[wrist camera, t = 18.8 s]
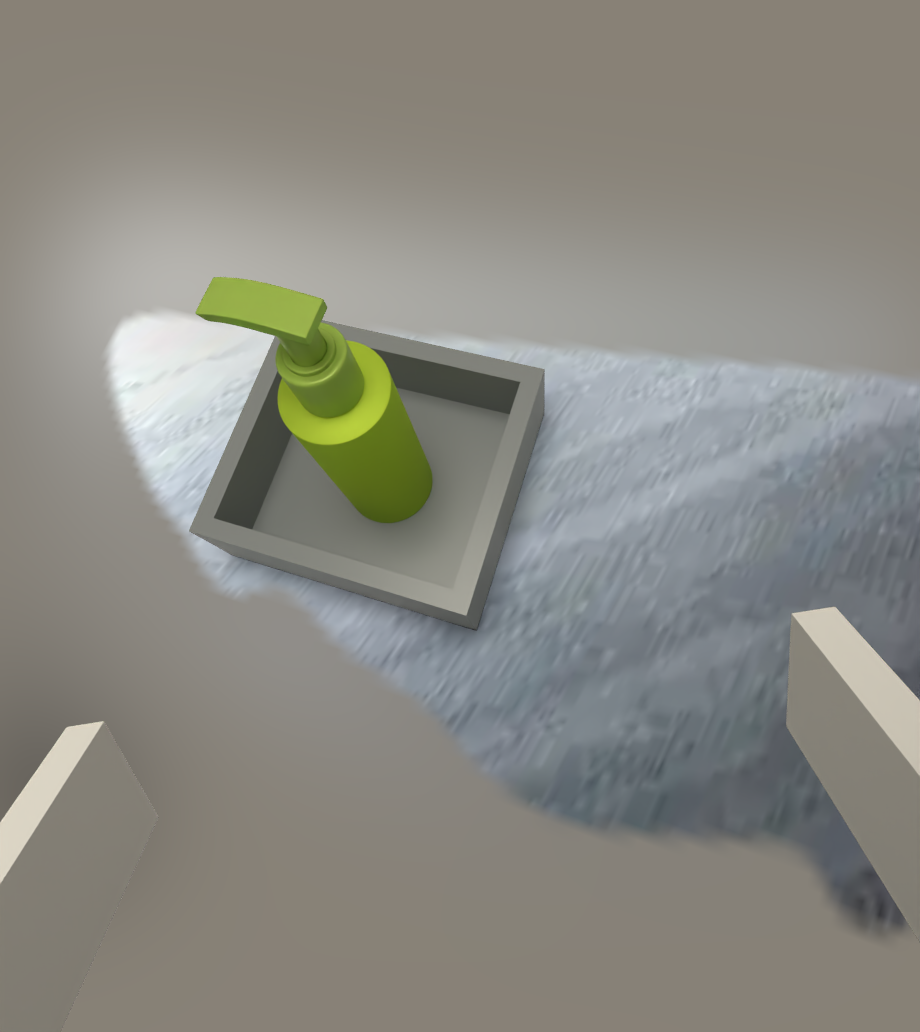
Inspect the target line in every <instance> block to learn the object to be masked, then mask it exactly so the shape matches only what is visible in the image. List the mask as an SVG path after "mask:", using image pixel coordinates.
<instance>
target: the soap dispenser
mask: <svg viewBox="0 0 920 1032" xmlns="http://www.w3.org/2000/svg"><path fill="white" fill-rule="evenodd" d="M326 309H327V306H326V304H325V302H324V300H323V299H321V298H317V297H314V296H311V295H307V294H304V293H300V292H297V291H293V290H290V289H286V288H283V287H279V286H275V285H271V284H267V283H262V282H258V281H252V280H247V279H239V278H226V277H214V278H213V279H212V281H211V283H210V285H209V287H208V289H207V291H206V292H205V295H204V297H203V298H202V300H201V302H200V305H199V306H198V308H197V310H196V314H197V315H199V316H200V317H202V318H204V319H205V320H207V321H213V322H221V323H227V324H232V325H237V326H241V327H245V328H249V329H252V330H256V331H260V332H263V333H267V334H271V335H274V336H276V337H277V338H278V340H279V341H280V344H279V346H278V348H277V351H276V357H275V362H276V367H277V370H278V372H279V374H280V376H281V377H282V380H281V382H280V385H279V389H278V408H279V412H280V415H281V418H282V420H283V422H284V423H285V425H286V426H287V428H288V429H289V430H290V431H291V432H292V434H293V435H294V436H295V437H296V438H297V439H298V441H299V442H300V443H301V444H302V445H303V447H304V448H305V449H306V450H307V451H308V452H309V454H310V455H311V456H312V457H313V458H314V459H315V461H316V462H317V463H318V464H319V465H320V467H321V468H322V469H323V470H324V471H325V472H326V474H327V475H328V476H329V477H330V478H331V480H332V481H333V482H334V483H335V484H336V485H337V487H338V488H339V489H340V490H341V491H342V493H343V494H344V495H345V496H346V497H347V498H348V500H349V501H350V502H351V503H352V504H353V506H354V507H355V508H356V509H357V510H358V511H359V512H360V513H361V514H362V515H363V516H365V517H366V518H368V519H370V520H373V521H376V522H380V523H394V522H399V521H402V520H405V519H407V518H409V517H411V516H412V515H414V514H415V513H416V512H418V511H419V510H420V509H421V508H422V506H423V505H424V504H425V502H426V501H427V499H428V497H429V495H430V492H431V488H432V471H431V468H430V465H429V463H428V461H427V458H426V456H425V454H424V451H423V449H422V447H421V444H420V442H419V440H418V437H417V435H416V433H415V430H414V428H413V426H412V423H411V421H410V419H409V416H408V414H407V412H406V409H405V407H404V405H403V402H402V400H401V398H400V395H399V393H398V391H397V388H396V386H395V384H394V381H393V379H392V377H391V375H390V372H389V370H388V368H387V366H386V364H385V362H384V361H383V359H382V358H381V357H380V356H379V355H378V354H377V353H376V352H375V351H374V350H372V349H371V348H369V347H367V346H365V345H363V344H361V343H358V342H354V341H347V340H345V338H344V336H343V335H342V334H341V333H340V331H339V330H337V329H336V328H335V327H333V326H331V325H329V324H326V323H321V321H322V318H323V316H324V314H325V312H326Z"/></svg>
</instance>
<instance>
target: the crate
mask: <svg viewBox="0 0 920 1032" xmlns="http://www.w3.org/2000/svg"><path fill="white" fill-rule="evenodd" d="M321 323H326V324H329V325H331V326H333V327H335V328H336V329H337V330H339V331H340V333H341V334H342V335H343V336H344V338H345V340H347V341H354V342H358V343H361V344H363V345H365V346H367V347H369V348H371V349H372V350H374V351H375V352H376V353H377V354H378V355H379V356H380V357H381V358H382V359H383V361H384V362H385V364H386V366H387V368H388V370H389V372H390V375H391V377H392V379H393V381H394V384H395V386H396V388H397V391H398V393H399V395H400V398H401V400H402V402H403V405H404V407H405V409H406V412H407V414H408V416H409V419H410V421H411V423H412V426H413V428H414V430H415V433H416V435H417V437H418V440H419V442H420V444H421V447H422V449H423V451H424V454H425V456H426V458H427V461H428V463H429V465H430V468H431V471H432V488H431V492H430V495H429V497H428V499H427V501H426V502H425V504H424V505H423V506H422V508H421V509H420V510H419V511H418V512H416V513H415V514H414V515H412V516H411V517H409V518H407V519H405V520H402V521H399V522H394V523H380V522H376V521H373V520H370V519H368V518H366V517H365V516H363V515H362V514H361V513H360V512H359V511H358V510H357V509H356V508H355V507H354V506H353V504H352V503H351V502H350V501H349V500H348V498H347V497H346V496H345V495H344V494H343V493H342V491H341V490H340V489H339V488H338V487H337V485H336V484H335V483H334V482H333V481H332V480H331V478H330V477H329V476H328V475H327V474H326V472H325V471H324V470H323V469H322V468H321V467H320V465H319V464H318V463H317V462H316V461H315V459H314V458H313V457H312V456H311V455H310V454H309V452H308V451H307V450H306V449H305V448H304V447H303V445H302V444H301V443H300V442H299V441H298V439H297V438H296V437H295V436H294V435H293V434H292V432H291V431H290V430H289V429H288V428H287V426H286V425H285V423H284V422H283V420H282V418H281V415H280V412H279V408H278V389H279V385H280V382H281V380H282V377H281V376H280V374H279V372H278V370H277V367H276V362H275V357H276V351H277V348H278V346H279V344H280V341H279V340H278V338H277V337H276V336H275V338H274V340H273V342H272V344H271V347H270V349H269V351H268V353H267V356H266V358H265V360H264V362H263V365H262V367H261V369H260V372H259V374H258V376H257V378H256V381H255V383H254V385H253V387H252V390H251V392H250V394H249V396H248V399H247V401H246V403H245V405H244V408H243V410H242V412H241V414H240V417H239V419H238V421H237V423H236V426H235V428H234V430H233V432H232V435H231V437H230V439H229V442H228V444H227V446H226V448H225V451H224V453H223V455H222V457H221V460H220V462H219V464H218V466H217V469H216V471H215V473H214V475H213V478H212V480H211V482H210V484H209V487H208V489H207V491H206V493H205V496H204V498H203V500H202V503H201V505H200V507H199V509H198V512H197V514H196V516H195V518H194V521H193V523H192V525H191V527H190V530H189V531H190V532H191V533H193V534H195V535H197V536H199V537H200V538H202V539H204V540H206V541H208V542H209V543H211V544H213V545H215V546H217V547H218V548H220V549H222V550H224V551H226V552H227V553H229V554H231V555H233V556H237V557H240V558H243V559H246V560H249V561H253V562H256V563H259V564H262V565H266V566H269V567H272V568H275V569H279V570H282V571H285V572H288V573H292V574H295V575H298V576H301V577H305V578H308V579H311V580H314V581H317V582H321V583H324V584H327V585H330V586H334V587H337V588H340V589H343V590H347V591H350V592H353V593H356V594H360V595H363V596H366V597H369V598H373V599H376V600H379V601H382V602H385V603H389V604H392V605H395V606H398V607H402V608H405V609H408V610H411V611H415V612H418V613H421V614H424V615H428V616H431V617H434V618H437V619H441V620H444V621H447V622H450V623H453V624H457V625H460V626H463V627H466V628H470V629H473V630H476V631H477V628H478V624H479V621H480V618H481V615H482V612H483V608H484V605H485V602H486V599H487V596H488V592H489V589H490V586H491V583H492V579H493V576H494V573H495V570H496V567H497V563H498V560H499V557H500V554H501V551H502V547H503V544H504V541H505V538H506V534H507V531H508V528H509V525H510V522H511V518H512V515H513V512H514V509H515V506H516V502H517V499H518V496H519V493H520V489H521V486H522V483H523V480H524V477H525V473H526V470H527V467H528V464H529V461H530V457H531V454H532V451H533V448H534V444H535V441H536V438H537V435H538V432H539V428H540V425H541V422H542V419H543V416H544V369H540V368H536V367H531V366H527V365H522V364H518V363H513V362H509V361H504V360H500V359H495V358H491V357H486V356H482V355H477V354H473V353H468V352H463V351H459V350H454V349H450V348H445V347H441V346H436V345H432V344H427V343H423V342H418V341H414V340H409V339H405V338H400V337H396V336H391V335H387V334H382V333H378V332H373V331H368V330H364V329H359V328H355V327H350V326H346V325H341V324H337V323H332V322H328V321H323V320H322V321H321Z"/></svg>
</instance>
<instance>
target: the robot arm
mask: <svg viewBox="0 0 920 1032" xmlns="http://www.w3.org/2000/svg"><path fill="white" fill-rule="evenodd" d="M786 726H787V728H788V730H789V731H790V733H791V735H792V736H793V738H794V739H795V741H796V743H797V744H798V746H799V747H800V749H801V751H802V752H803V754H804V756H805V757H806V759H807V760H808V762H809V764H810V765H811V767H812V769H813V770H814V772H815V773H816V775H817V777H818V778H819V780H820V782H821V783H822V785H823V786H824V788H825V790H826V791H827V793H828V794H829V796H830V798H831V799H832V801H833V803H834V804H835V806H836V807H837V809H838V811H839V812H840V814H841V816H842V817H843V819H844V820H845V822H846V824H847V825H848V827H849V829H850V830H851V832H852V833H853V835H854V837H855V838H856V840H857V842H858V843H859V845H860V846H861V848H862V850H863V851H864V853H865V854H866V856H867V858H868V859H869V861H870V863H871V864H872V866H873V867H874V869H875V871H876V872H877V874H878V876H879V877H880V879H881V880H882V882H883V884H884V885H885V887H886V889H887V890H888V892H889V893H890V895H891V897H892V898H893V900H894V901H895V903H896V905H897V906H898V908H899V910H900V911H901V913H902V914H903V916H904V918H905V919H906V921H907V923H908V924H909V926H910V927H911V929H912V931H913V932H914V934H915V936H916V937H917V939H918V940H919V942H920V700H919V699H918V698H917V697H916V696H915V695H914V694H913V693H912V692H911V690H910V689H909V688H908V687H907V686H906V685H905V684H904V683H903V682H902V680H901V679H900V678H899V677H898V676H897V675H896V674H895V673H894V672H893V670H892V669H891V668H890V667H889V666H888V665H887V664H886V663H885V662H884V661H883V659H882V658H881V657H880V656H879V655H878V654H877V653H876V652H875V651H874V649H873V648H872V647H871V646H870V645H869V644H868V643H867V642H866V641H865V639H864V638H863V637H862V636H861V635H860V634H859V633H858V632H857V631H856V630H855V628H854V627H853V626H852V625H851V624H850V623H849V622H848V621H847V620H846V618H845V617H844V616H843V615H842V614H841V613H840V612H839V611H838V610H837V608H836V607H830V608H823V609H817V610H811V611H804V612H798V613H792V614H791V635H790V657H789V678H788V699H787V720H786ZM157 819H158V816H157V814H156V812H155V810H154V808H153V807H152V805H151V803H150V801H149V800H148V798H147V796H146V794H145V792H144V791H143V789H142V787H141V785H140V784H139V782H138V780H137V779H136V777H135V775H134V773H133V771H132V770H131V768H130V766H129V764H128V763H127V761H126V759H125V757H124V756H123V754H122V752H121V750H120V749H119V747H118V745H117V743H116V742H115V740H114V738H113V736H112V734H111V733H110V731H109V729H108V727H107V726H106V724H105V722H104V721H103V722H97V723H90V724H83V725H78V726H71V727H67V728H66V729H65V731H64V732H63V733H62V735H61V736H60V738H59V739H58V741H57V742H56V743H55V745H54V746H53V748H52V749H51V751H50V752H49V753H48V755H47V756H46V758H45V759H44V761H43V762H42V763H41V765H40V766H39V768H38V769H37V771H36V772H35V773H34V775H33V776H32V778H31V779H30V781H29V782H28V784H27V785H26V786H25V788H24V789H23V791H22V792H21V793H20V795H19V797H18V798H17V799H16V801H15V802H14V804H13V805H12V806H11V808H10V809H9V811H8V812H7V814H6V815H5V817H4V818H3V819H2V821H1V822H0V1032H61V1030H62V1028H63V1025H64V1023H65V1021H66V1019H67V1017H68V1015H69V1012H70V1010H71V1008H72V1006H73V1004H74V1001H75V999H76V997H77V995H78V992H79V990H80V988H81V986H82V984H83V982H84V979H85V977H86V975H87V973H88V971H89V968H90V966H91V964H92V962H93V960H94V957H95V955H96V953H97V951H98V949H99V947H100V944H101V942H102V940H103V938H104V935H105V933H106V931H107V929H108V927H109V925H110V922H111V920H112V918H113V916H114V914H115V911H116V909H117V907H118V905H119V903H120V901H121V898H122V896H123V894H124V892H125V889H126V887H127V885H128V883H129V881H130V879H131V876H132V874H133V872H134V870H135V868H136V865H137V863H138V861H139V859H140V857H141V854H142V852H143V850H144V848H145V846H146V844H147V841H148V839H149V837H150V835H151V832H152V830H153V828H154V826H155V824H156V822H157Z"/></svg>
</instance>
